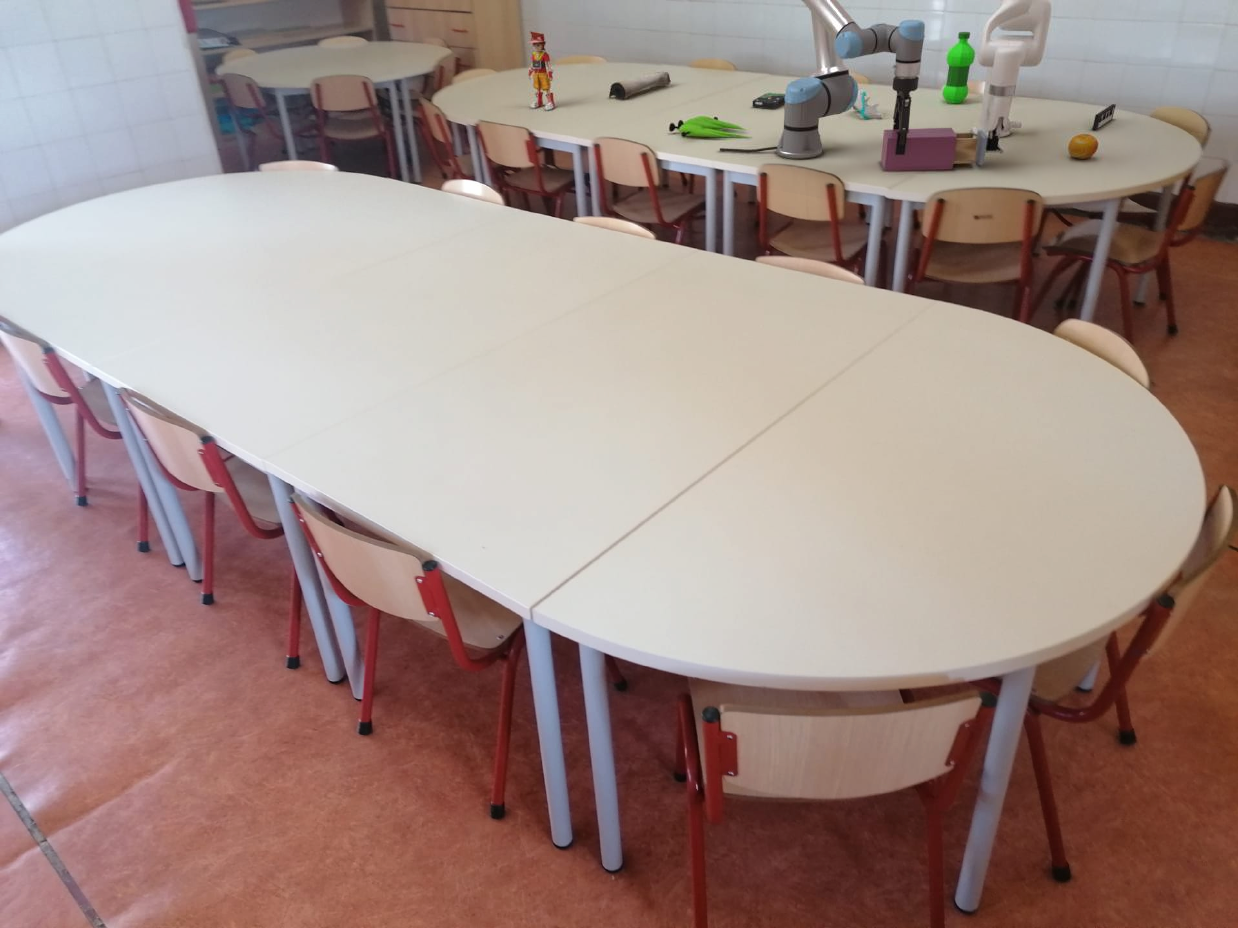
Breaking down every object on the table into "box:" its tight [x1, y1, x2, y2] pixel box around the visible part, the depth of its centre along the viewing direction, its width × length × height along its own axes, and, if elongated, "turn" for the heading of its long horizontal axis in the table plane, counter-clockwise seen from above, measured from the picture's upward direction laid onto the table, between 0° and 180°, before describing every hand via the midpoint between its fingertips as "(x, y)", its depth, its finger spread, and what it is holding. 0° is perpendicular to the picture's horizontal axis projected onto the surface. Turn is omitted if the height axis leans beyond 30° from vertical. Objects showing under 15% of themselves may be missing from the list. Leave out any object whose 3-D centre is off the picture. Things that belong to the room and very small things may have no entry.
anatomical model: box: [852, 88, 884, 120], centre depth 343 cm, size 15×10×10 cm
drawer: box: [953, 130, 1004, 166], centre depth 287 cm, size 26×9×8 cm, turn 83°
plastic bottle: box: [942, 31, 976, 104], centre depth 348 cm, size 10×10×25 cm
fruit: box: [1067, 133, 1099, 160], centre depth 287 cm, size 8×8×8 cm
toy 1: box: [527, 31, 556, 111], centre depth 374 cm, size 12×9×30 cm
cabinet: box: [880, 127, 957, 172], centre depth 288 cm, size 21×10×10 cm, turn 83°
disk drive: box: [752, 92, 786, 110], centre depth 366 cm, size 10×3×15 cm
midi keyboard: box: [1091, 103, 1117, 131], centre depth 317 cm, size 18×1×5 cm, turn 138°
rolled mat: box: [608, 71, 672, 101], centre depth 395 cm, size 30×9×10 cm
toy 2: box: [668, 115, 748, 138], centre depth 334 cm, size 28×5×30 cm
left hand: (897, 149), depth 289 cm, fingers closed on cabinet, 10 cm apart
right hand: (991, 150), depth 286 cm, fingers closed
